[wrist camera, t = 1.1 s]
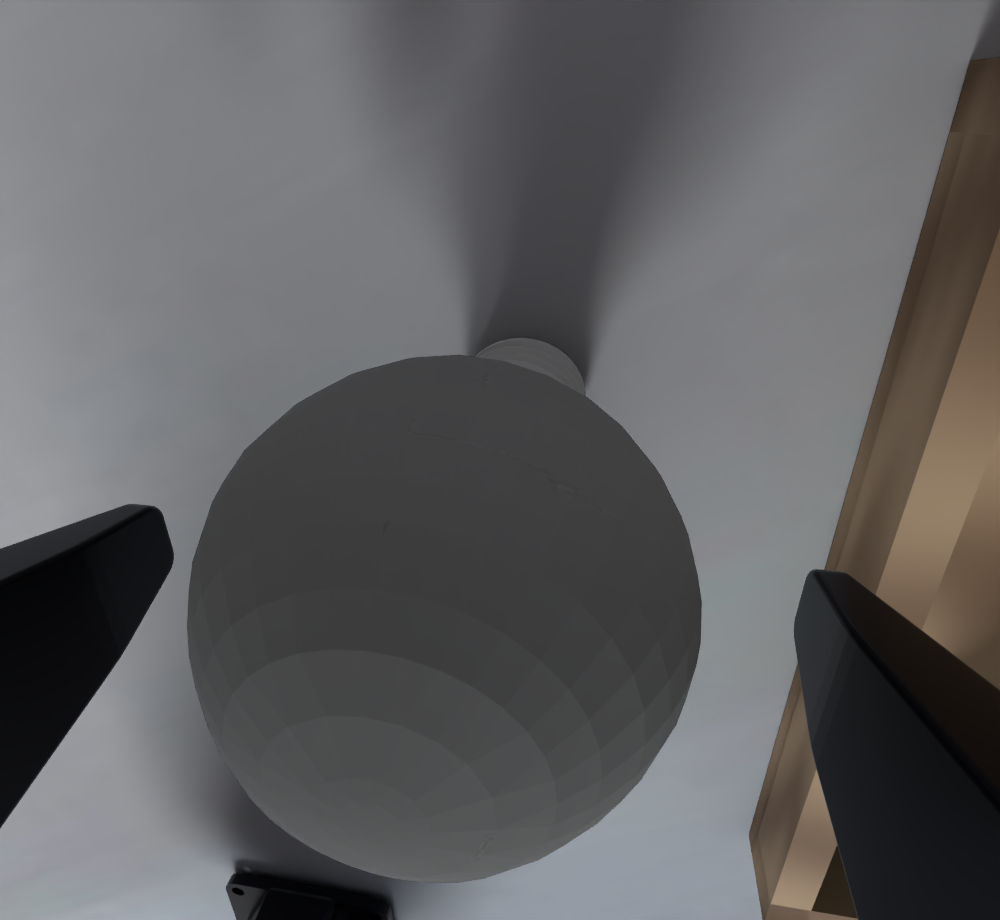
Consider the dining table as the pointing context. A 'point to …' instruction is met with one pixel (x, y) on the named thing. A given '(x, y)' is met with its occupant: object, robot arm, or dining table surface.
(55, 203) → the dining table surface
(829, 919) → the tray
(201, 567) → the light bulb
